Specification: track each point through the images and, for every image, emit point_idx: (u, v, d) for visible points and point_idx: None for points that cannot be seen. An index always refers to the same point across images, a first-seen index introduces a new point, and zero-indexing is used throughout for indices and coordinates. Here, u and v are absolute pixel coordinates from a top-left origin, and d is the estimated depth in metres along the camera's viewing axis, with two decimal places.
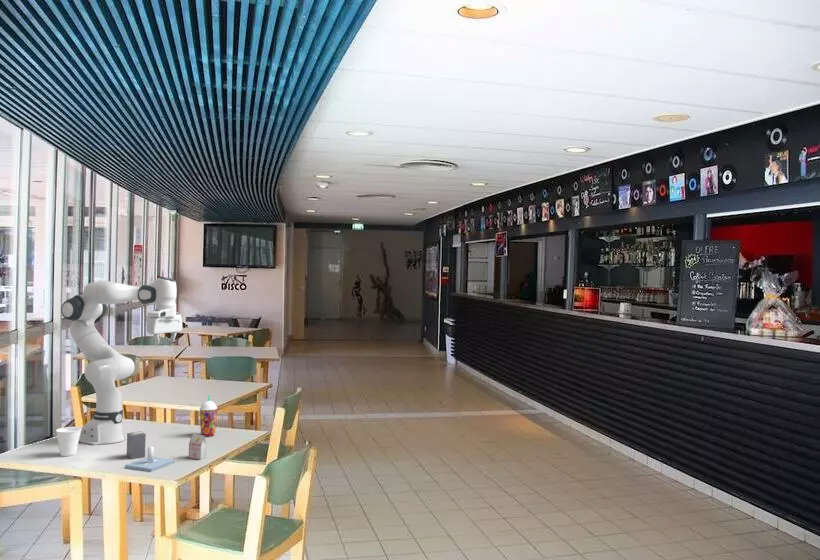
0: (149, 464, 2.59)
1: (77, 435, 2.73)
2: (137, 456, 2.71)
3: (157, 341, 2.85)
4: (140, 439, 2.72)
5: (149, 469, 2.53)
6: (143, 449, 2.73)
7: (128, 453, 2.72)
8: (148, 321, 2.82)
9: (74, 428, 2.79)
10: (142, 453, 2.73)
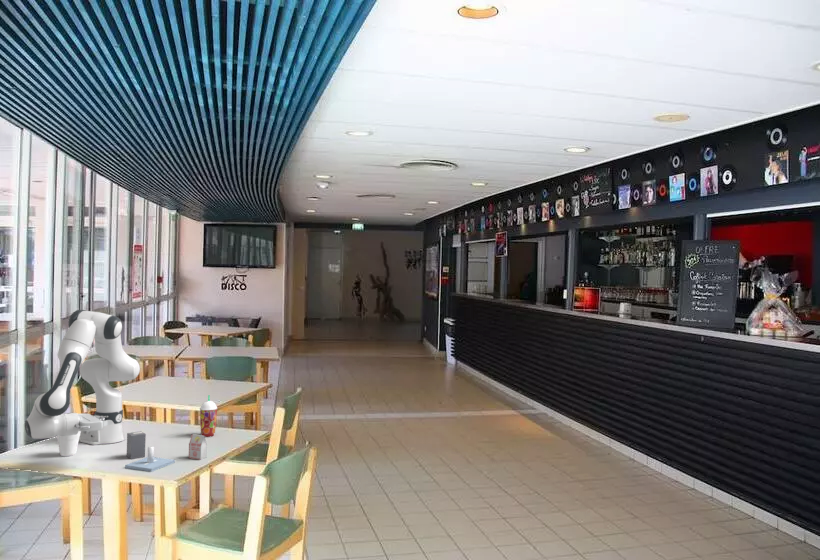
0: (149, 464, 2.59)
1: (77, 435, 2.73)
2: (137, 456, 2.71)
3: None
4: (140, 439, 2.72)
5: (149, 469, 2.53)
6: (143, 449, 2.73)
7: (128, 453, 2.72)
8: None
9: None
10: (142, 453, 2.73)
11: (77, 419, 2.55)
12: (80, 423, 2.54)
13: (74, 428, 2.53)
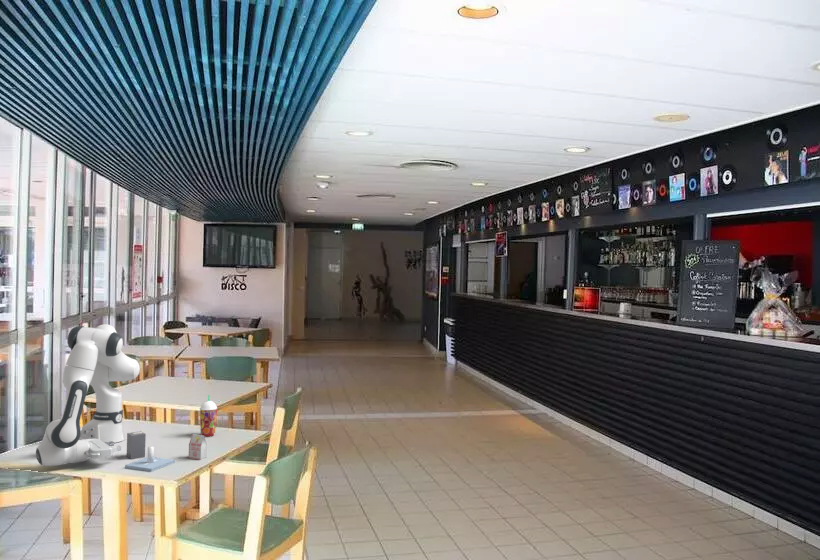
0: (149, 464, 2.59)
1: None
2: (137, 456, 2.71)
3: None
4: (140, 439, 2.72)
5: (149, 469, 2.53)
6: (143, 449, 2.73)
7: (128, 453, 2.72)
8: None
9: None
10: (142, 453, 2.73)
11: (87, 446, 2.58)
12: (90, 450, 2.57)
13: (84, 455, 2.56)
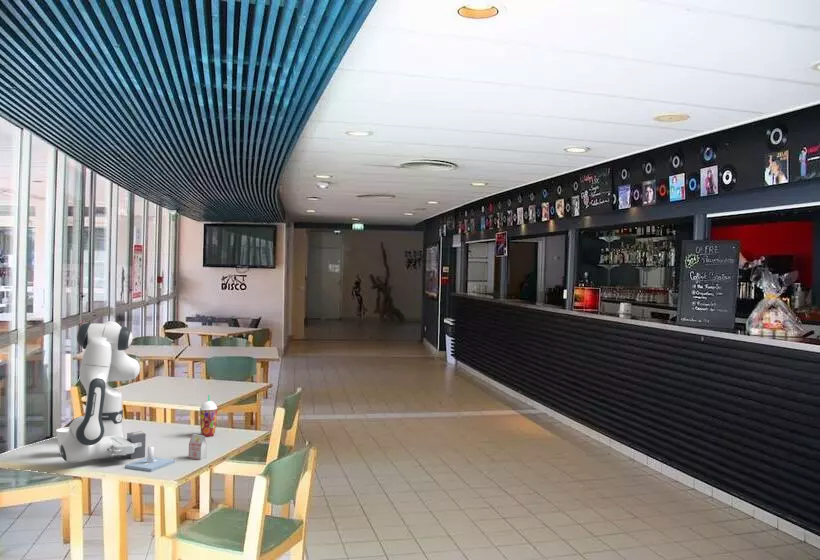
0: (149, 464, 2.59)
1: None
2: (137, 456, 2.71)
3: None
4: (140, 439, 2.72)
5: (149, 469, 2.53)
6: (143, 449, 2.73)
7: None
8: None
9: None
10: (142, 453, 2.73)
11: (110, 443, 2.63)
12: (113, 447, 2.62)
13: (107, 451, 2.62)
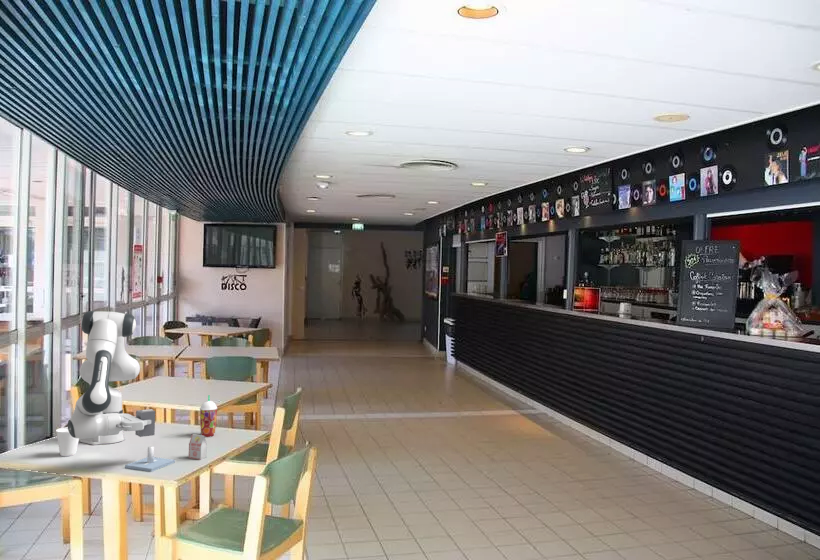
0: (149, 464, 2.59)
1: None
2: (146, 434, 2.63)
3: None
4: (149, 416, 2.64)
5: (149, 469, 2.53)
6: (152, 427, 2.65)
7: (137, 431, 2.64)
8: None
9: None
10: (151, 431, 2.65)
11: (119, 419, 2.55)
12: (122, 423, 2.54)
13: (116, 428, 2.54)
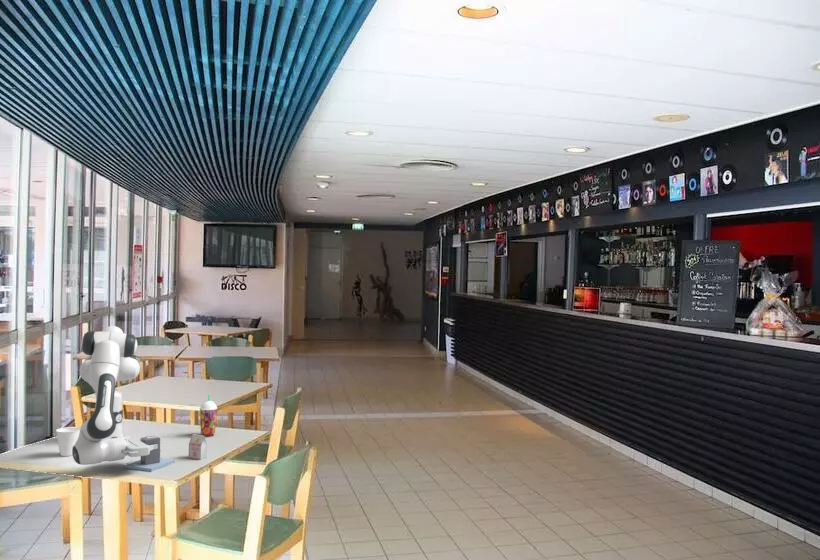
0: (149, 464, 2.59)
1: (77, 435, 2.73)
2: (152, 461, 2.59)
3: None
4: (154, 443, 2.60)
5: (149, 469, 2.53)
6: (158, 454, 2.61)
7: (142, 458, 2.60)
8: None
9: (74, 428, 2.79)
10: (157, 458, 2.61)
11: (124, 444, 2.51)
12: (127, 448, 2.50)
13: (121, 453, 2.50)
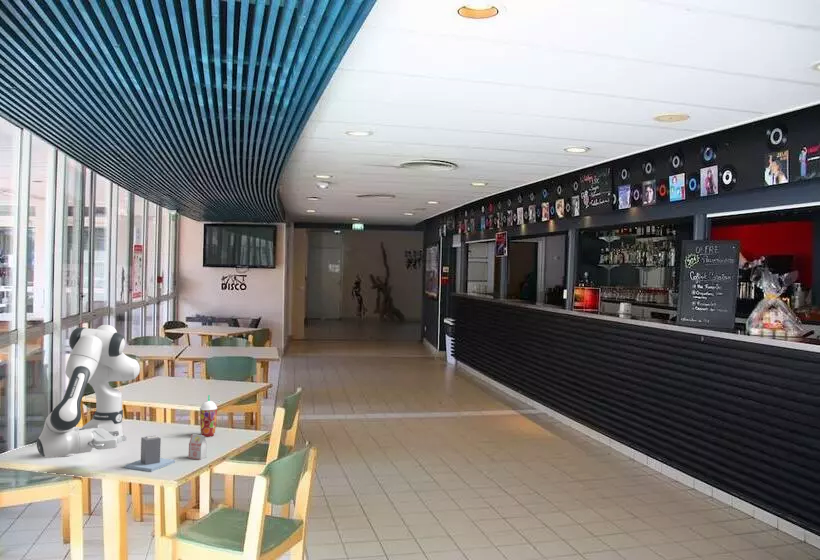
0: (149, 464, 2.59)
1: None
2: (152, 462, 2.59)
3: None
4: (155, 444, 2.60)
5: (149, 469, 2.53)
6: (158, 454, 2.61)
7: (142, 458, 2.60)
8: None
9: (74, 428, 2.79)
10: (157, 458, 2.61)
11: (91, 436, 2.46)
12: (94, 441, 2.45)
13: (88, 446, 2.44)
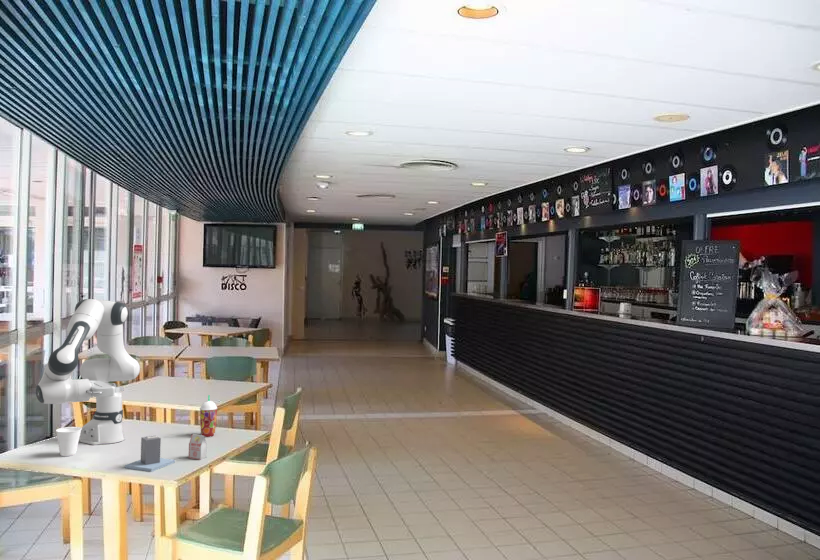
0: (149, 464, 2.59)
1: (77, 435, 2.73)
2: (152, 462, 2.59)
3: None
4: (155, 444, 2.60)
5: (149, 469, 2.53)
6: (158, 454, 2.61)
7: (142, 458, 2.60)
8: None
9: (74, 428, 2.79)
10: (157, 458, 2.61)
11: (89, 385, 2.51)
12: (92, 389, 2.50)
13: (86, 394, 2.50)
